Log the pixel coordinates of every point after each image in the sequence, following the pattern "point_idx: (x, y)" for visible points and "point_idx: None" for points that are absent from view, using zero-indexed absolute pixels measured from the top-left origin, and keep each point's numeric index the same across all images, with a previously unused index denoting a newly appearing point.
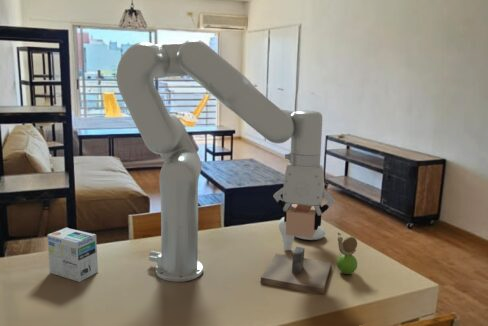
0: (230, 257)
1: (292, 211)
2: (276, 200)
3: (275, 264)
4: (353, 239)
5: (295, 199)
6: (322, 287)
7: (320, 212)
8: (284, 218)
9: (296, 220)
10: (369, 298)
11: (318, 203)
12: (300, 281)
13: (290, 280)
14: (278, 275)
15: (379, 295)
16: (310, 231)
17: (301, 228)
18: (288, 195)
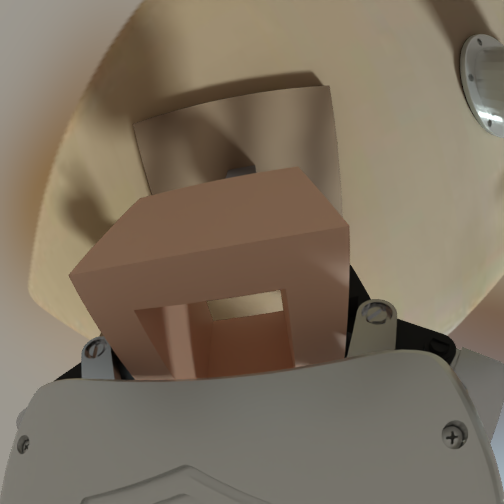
0: (440, 198)
1: (293, 278)
2: (468, 351)
3: (322, 190)
4: (100, 335)
5: (286, 421)
6: (137, 129)
7: (90, 355)
8: (354, 274)
9: (228, 214)
10: (57, 179)
11: (38, 394)
12: (206, 122)
13: (237, 111)
14: (284, 122)
15: (51, 206)
16: (137, 209)
17: (192, 201)
18: (414, 438)
